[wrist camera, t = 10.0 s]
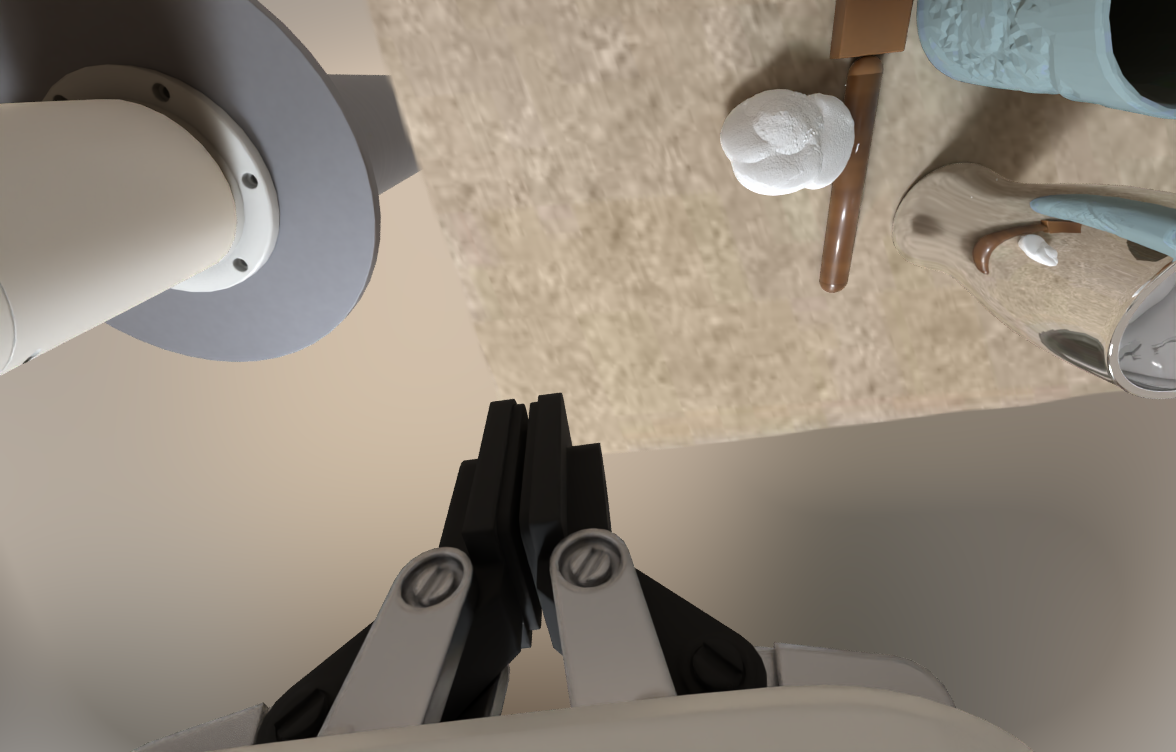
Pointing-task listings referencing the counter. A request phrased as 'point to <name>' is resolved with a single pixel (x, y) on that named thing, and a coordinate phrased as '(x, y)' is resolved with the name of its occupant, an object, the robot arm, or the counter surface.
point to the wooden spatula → (858, 116)
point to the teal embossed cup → (1059, 48)
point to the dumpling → (788, 141)
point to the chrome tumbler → (1057, 265)
